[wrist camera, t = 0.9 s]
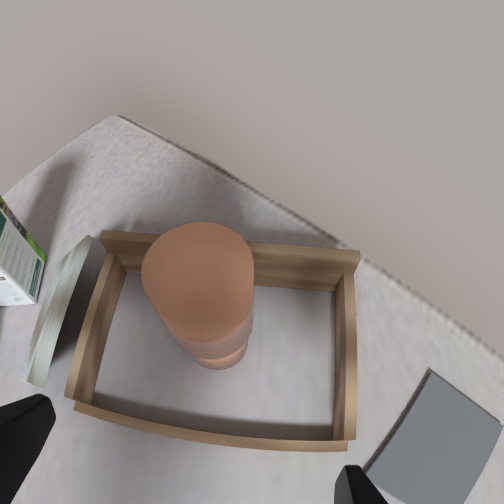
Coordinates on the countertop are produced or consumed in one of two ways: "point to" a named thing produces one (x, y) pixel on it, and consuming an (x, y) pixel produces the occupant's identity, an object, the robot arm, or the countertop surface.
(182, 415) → the countertop surface
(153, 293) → the peach domed cylinder
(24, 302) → the syrup box
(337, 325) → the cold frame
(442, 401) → the slate tile
